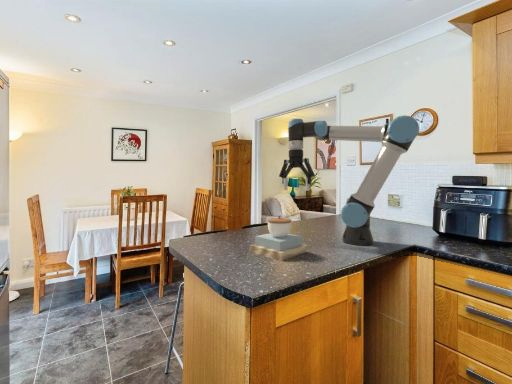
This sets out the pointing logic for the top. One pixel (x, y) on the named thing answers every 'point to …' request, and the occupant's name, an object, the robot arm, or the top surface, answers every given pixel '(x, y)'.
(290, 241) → the tower top
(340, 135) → the robot arm
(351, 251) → the top surface
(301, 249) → the tower base
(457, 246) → the top surface
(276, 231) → the lidded jar
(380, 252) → the top surface
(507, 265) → the top surface
